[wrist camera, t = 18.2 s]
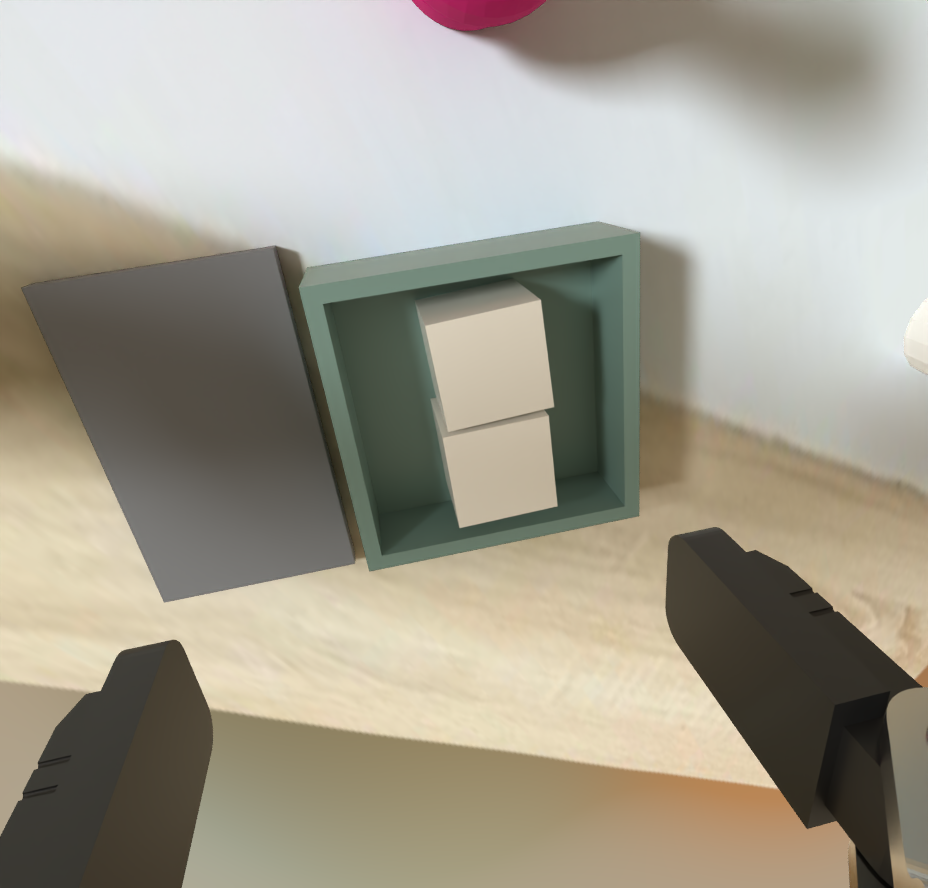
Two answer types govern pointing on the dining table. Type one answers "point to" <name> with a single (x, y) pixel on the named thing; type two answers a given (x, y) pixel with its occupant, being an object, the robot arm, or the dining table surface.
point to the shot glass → (918, 339)
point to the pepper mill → (476, 12)
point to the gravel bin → (410, 389)
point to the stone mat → (201, 417)
